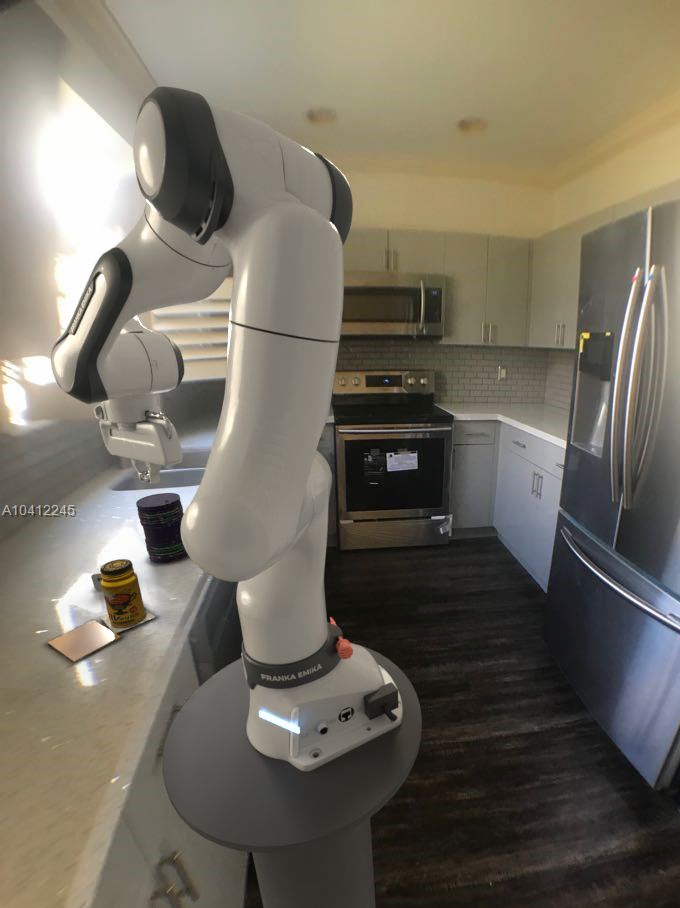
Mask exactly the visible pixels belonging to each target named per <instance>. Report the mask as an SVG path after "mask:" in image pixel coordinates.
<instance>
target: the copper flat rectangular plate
mask: <svg viewBox="0 0 680 908" xmlns="http://www.w3.org/2000/svg"><path fill="white" fill-rule="evenodd" d="M121 638H122V636H121V635H119V634H118V633H114V632H113V631H112V630H111V629H110V628H109V627H106V626H105V625H103V624H101V623H100V622H97V621H96V620H94V619H92V620H91V621H88V622H86V623H84V624H83V625H82V624H81V625H80V626H77V627H76V628H74V629H72V630H70V631H68V632H66V633H64V634H62V635H59V636H58V637H55V638H53V639H51V640H49V641H47V644H48V645H50V646H51V647H52V648H54V649H55V650H56V651H57V652H59V653H61V654H62V655H63V656H65V657H66V658H67V659H69V660H70V661H72V663H77V662H79V661H80V660H82V659H84V658H86V657H88V656H90V655H92V654H93V653H95V652H98V651H99V650H101V649H103V648H105V647H107V646H108V645H110V644H112V643H114V642H116V641H118V640H120V639H121Z"/></svg>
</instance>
